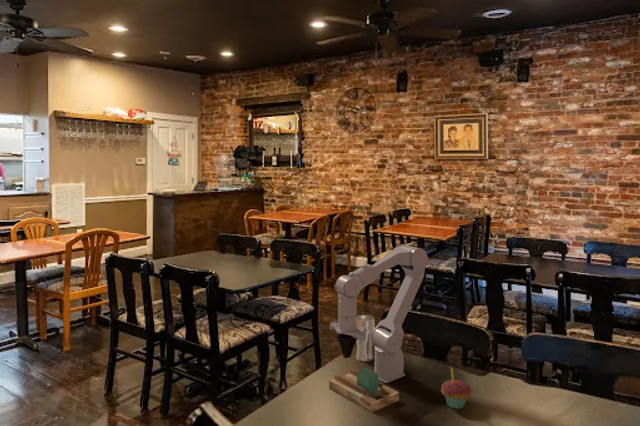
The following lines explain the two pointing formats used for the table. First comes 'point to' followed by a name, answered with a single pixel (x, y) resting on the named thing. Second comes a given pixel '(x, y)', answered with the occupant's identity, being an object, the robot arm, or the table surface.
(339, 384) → the channel board
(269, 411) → the table surface
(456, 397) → the cupcake
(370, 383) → the teal block
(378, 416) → the table surface
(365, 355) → the beer glass
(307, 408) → the table surface
